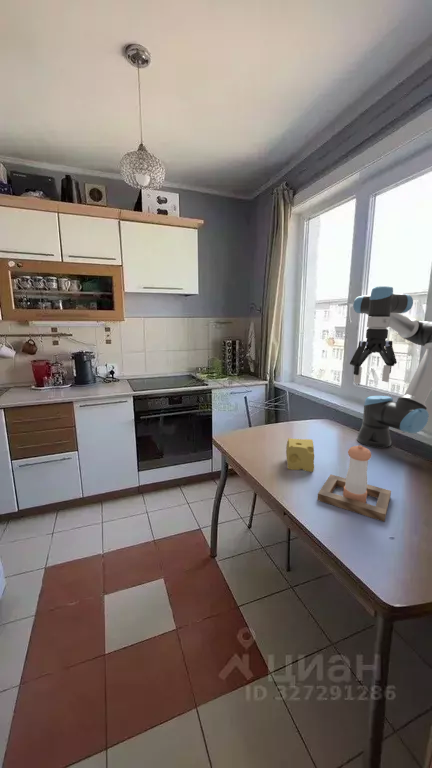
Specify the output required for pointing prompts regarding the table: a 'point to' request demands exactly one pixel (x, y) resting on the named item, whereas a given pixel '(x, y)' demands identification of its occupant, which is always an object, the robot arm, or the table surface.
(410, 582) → the table surface
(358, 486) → the salt shaker
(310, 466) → the cheese
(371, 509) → the rail frame
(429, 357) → the robot arm
